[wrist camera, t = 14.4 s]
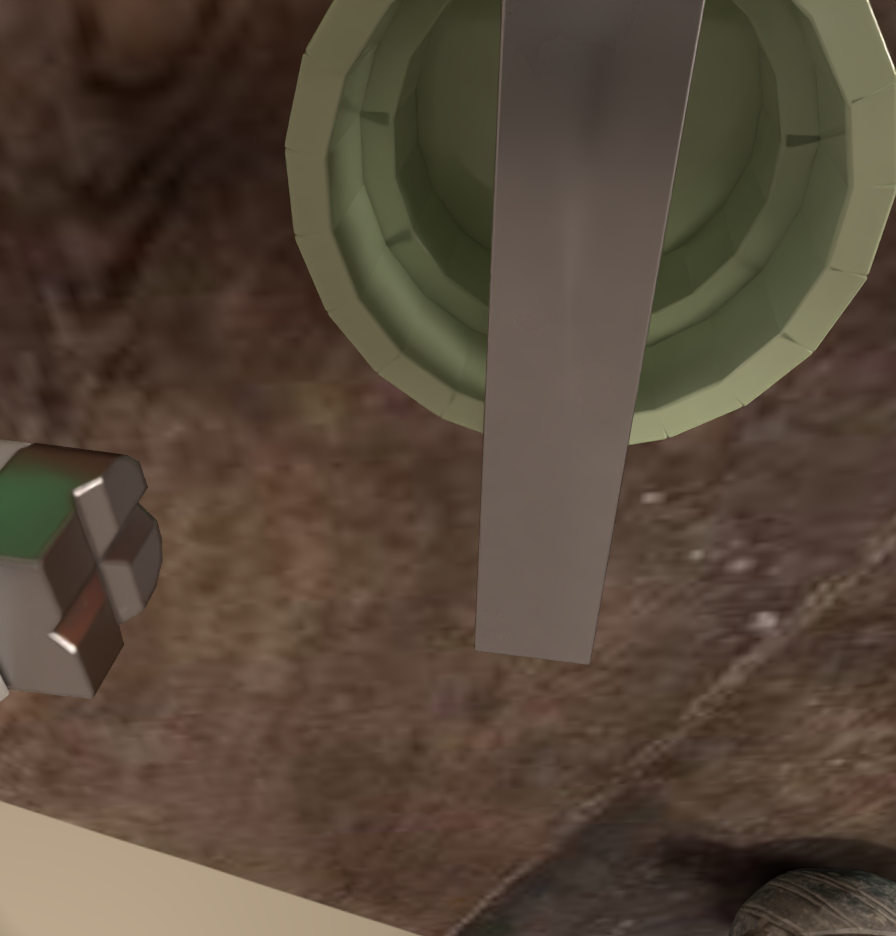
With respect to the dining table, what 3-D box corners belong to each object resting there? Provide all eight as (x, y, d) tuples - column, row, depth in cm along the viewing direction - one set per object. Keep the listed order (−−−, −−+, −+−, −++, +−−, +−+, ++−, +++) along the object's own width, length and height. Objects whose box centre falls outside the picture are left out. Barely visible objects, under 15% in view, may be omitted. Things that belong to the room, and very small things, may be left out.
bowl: (347, -175, 17) (248, -160, 13) (898, -165, 16) (1013, -146, 11) (371, 301, 24) (313, 425, 19) (763, 332, 23) (802, 473, 18)
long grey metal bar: (544, -414, 11) (521, -484, 8) (745, -419, 10) (792, -491, 8) (491, 537, 21) (473, 651, 18) (593, 548, 20) (589, 666, 18)
